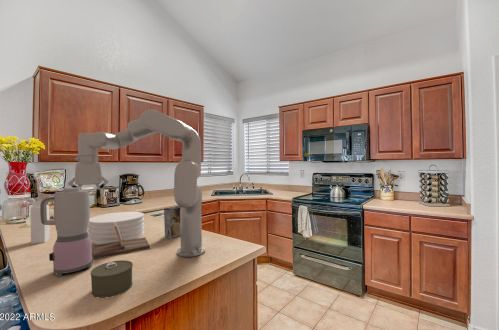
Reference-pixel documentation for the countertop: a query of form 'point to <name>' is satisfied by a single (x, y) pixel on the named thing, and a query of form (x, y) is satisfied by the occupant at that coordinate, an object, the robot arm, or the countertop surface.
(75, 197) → the blender
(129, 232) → the plate stack
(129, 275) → the can
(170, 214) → the coffee box
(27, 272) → the countertop surface
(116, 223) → the tile
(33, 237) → the milk
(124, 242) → the walnut board
